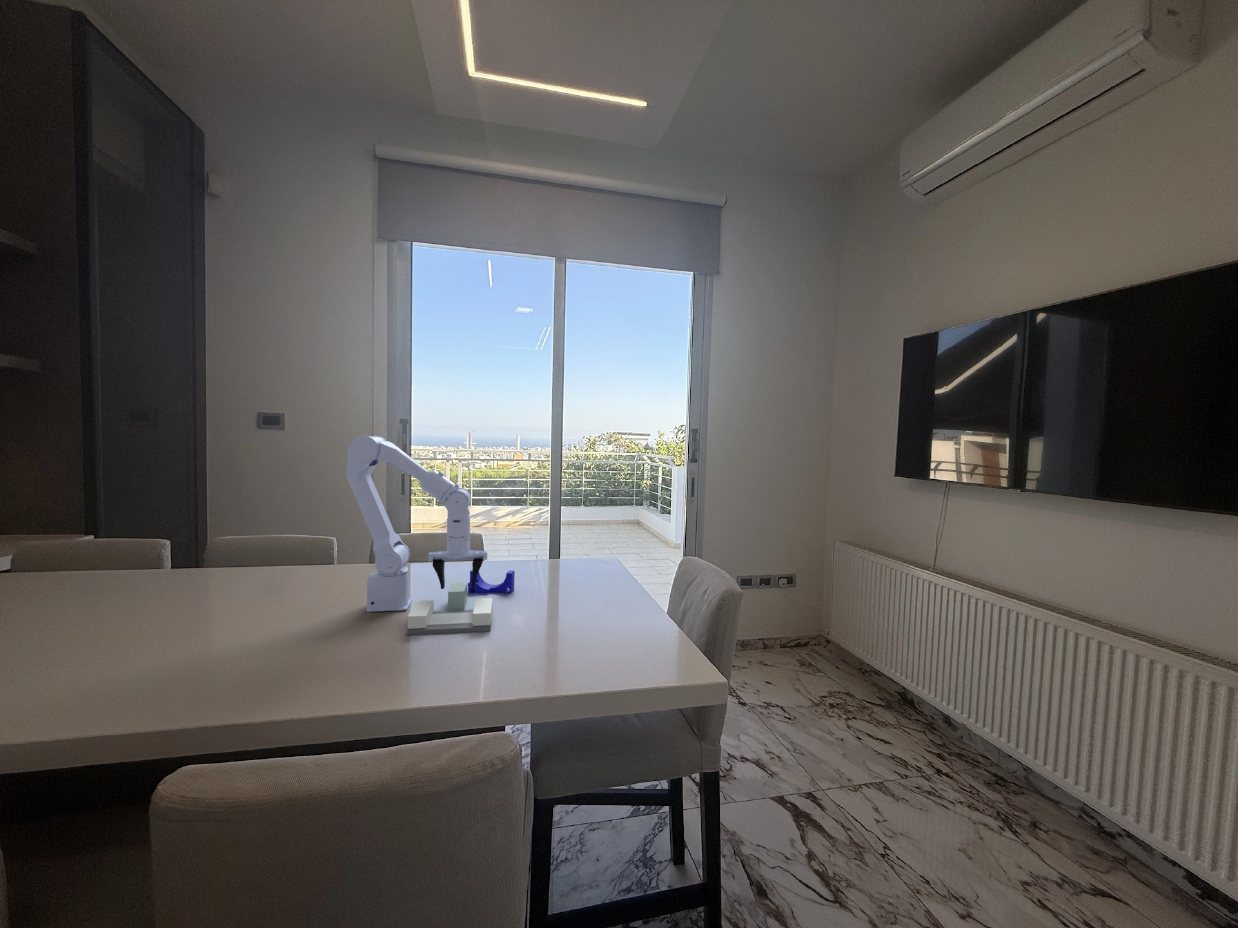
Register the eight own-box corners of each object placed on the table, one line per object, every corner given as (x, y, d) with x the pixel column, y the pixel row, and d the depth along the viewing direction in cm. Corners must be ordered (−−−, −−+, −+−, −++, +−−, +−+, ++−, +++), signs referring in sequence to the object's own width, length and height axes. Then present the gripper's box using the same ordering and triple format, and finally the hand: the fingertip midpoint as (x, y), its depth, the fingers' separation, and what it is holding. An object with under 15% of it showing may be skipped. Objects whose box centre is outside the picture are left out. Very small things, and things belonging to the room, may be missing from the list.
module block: (447, 611, 132) (447, 591, 132) (451, 601, 140) (451, 582, 139) (464, 610, 133) (464, 591, 132) (467, 600, 141) (467, 582, 140)
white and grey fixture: (407, 634, 116) (407, 617, 116) (416, 616, 128) (416, 599, 127) (490, 630, 120) (490, 613, 119) (492, 612, 131) (492, 597, 131)
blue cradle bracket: (467, 593, 147) (468, 572, 146) (473, 588, 151) (473, 568, 151) (509, 595, 146) (510, 574, 145) (514, 590, 150) (514, 570, 150)
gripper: (426, 539, 130) (426, 593, 131) (486, 538, 133) (486, 590, 134) (430, 533, 137) (430, 584, 137) (487, 532, 140) (487, 582, 140)
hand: (458, 587), depth 136 cm, fingers open, 7 cm apart
